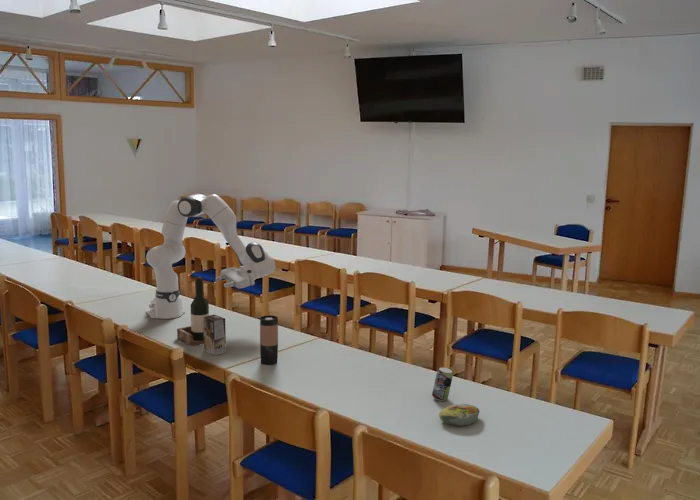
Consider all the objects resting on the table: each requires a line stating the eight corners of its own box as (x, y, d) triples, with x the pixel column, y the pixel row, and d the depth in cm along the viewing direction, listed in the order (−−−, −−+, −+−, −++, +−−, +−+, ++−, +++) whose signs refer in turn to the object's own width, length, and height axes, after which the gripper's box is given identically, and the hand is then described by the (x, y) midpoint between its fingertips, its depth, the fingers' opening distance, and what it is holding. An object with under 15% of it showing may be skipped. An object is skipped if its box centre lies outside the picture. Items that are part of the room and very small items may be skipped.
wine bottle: (213, 337, 296) (211, 276, 291) (201, 342, 289) (199, 279, 283) (199, 334, 300) (198, 274, 294) (187, 339, 292) (186, 277, 287)
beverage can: (430, 395, 235) (431, 366, 233) (449, 395, 236) (450, 365, 234) (433, 402, 229) (435, 372, 227) (453, 402, 230) (454, 372, 227)
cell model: (431, 412, 216) (464, 390, 221) (440, 431, 217) (472, 409, 222) (447, 418, 206) (481, 396, 211) (456, 438, 207) (490, 415, 212)
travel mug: (280, 360, 269) (280, 316, 265) (273, 366, 262) (273, 321, 258) (265, 358, 271) (265, 314, 268) (257, 364, 264) (256, 319, 260)
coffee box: (226, 352, 277) (226, 318, 274) (214, 356, 273) (214, 321, 270) (214, 347, 283) (214, 314, 281) (203, 350, 279) (202, 316, 276)
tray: (177, 338, 295) (177, 328, 294) (204, 332, 304) (204, 323, 303) (191, 346, 284) (190, 336, 283) (219, 340, 293) (218, 330, 293)
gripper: (235, 262, 313) (210, 270, 306) (254, 274, 298) (228, 283, 291) (237, 273, 316) (212, 281, 309) (256, 285, 300) (230, 295, 293)
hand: (220, 282), depth 300 cm, fingers open, 8 cm apart
